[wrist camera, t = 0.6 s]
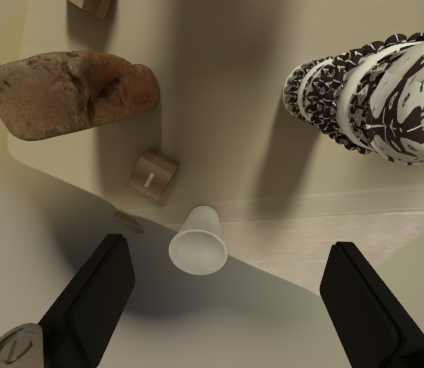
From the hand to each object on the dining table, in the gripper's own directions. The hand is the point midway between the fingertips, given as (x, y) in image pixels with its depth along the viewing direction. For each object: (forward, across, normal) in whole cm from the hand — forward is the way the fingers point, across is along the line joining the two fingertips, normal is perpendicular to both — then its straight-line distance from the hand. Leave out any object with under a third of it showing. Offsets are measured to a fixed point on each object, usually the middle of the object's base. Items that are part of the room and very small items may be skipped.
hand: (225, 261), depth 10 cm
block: (+32, +16, -6) cm, 36 cm away
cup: (+31, +4, +19) cm, 37 cm away
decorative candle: (+32, -13, -6) cm, 35 cm away
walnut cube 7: (+31, +13, +8) cm, 35 cm away
